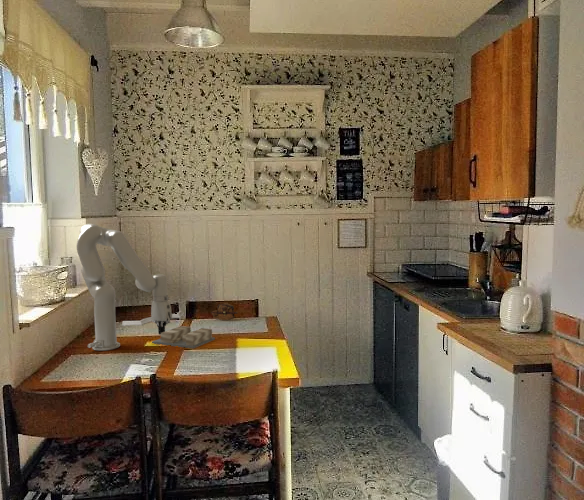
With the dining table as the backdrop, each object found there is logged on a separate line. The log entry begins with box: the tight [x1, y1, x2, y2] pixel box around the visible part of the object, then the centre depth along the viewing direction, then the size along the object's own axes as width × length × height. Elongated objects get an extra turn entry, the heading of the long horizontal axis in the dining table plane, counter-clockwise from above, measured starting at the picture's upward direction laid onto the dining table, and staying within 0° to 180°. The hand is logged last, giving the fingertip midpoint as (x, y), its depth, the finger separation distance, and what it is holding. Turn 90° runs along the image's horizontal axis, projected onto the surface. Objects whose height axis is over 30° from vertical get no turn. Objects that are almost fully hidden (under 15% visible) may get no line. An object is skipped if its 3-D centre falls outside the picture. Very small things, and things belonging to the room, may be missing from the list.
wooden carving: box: [210, 302, 238, 321], centre depth 296 cm, size 16×5×10 cm, turn 77°
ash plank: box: [160, 325, 192, 343], centre depth 251 cm, size 16×7×4 cm, turn 155°
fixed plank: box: [182, 327, 213, 346], centre depth 245 cm, size 16×6×4 cm, turn 155°
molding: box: [121, 310, 185, 327], centre depth 300 cm, size 42×12×3 cm, turn 136°
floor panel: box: [151, 336, 216, 349], centre depth 249 cm, size 18×25×1 cm
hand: (161, 333), depth 255 cm, fingers closed
